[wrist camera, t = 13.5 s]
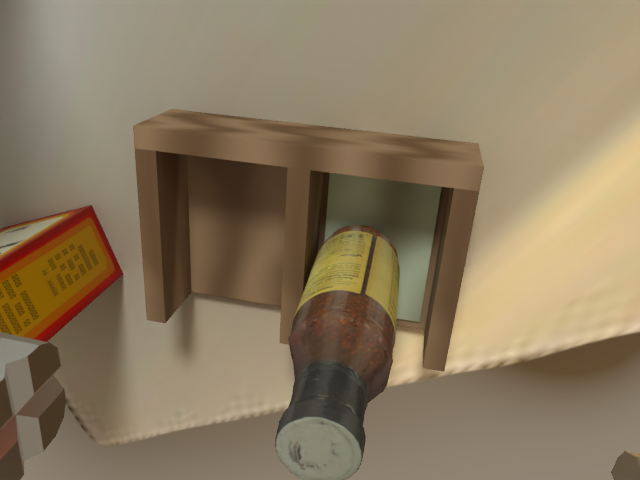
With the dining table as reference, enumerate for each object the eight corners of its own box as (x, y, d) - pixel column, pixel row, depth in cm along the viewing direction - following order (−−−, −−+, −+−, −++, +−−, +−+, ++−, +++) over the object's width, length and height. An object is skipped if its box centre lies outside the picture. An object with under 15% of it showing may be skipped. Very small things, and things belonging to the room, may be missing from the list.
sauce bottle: (307, 271, 44) (217, 460, 26) (341, 206, 42) (266, 367, 24) (382, 309, 44) (341, 523, 27) (420, 246, 42) (405, 437, 24)
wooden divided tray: (178, 284, 48) (146, 319, 43) (171, 109, 42) (133, 125, 37) (443, 327, 45) (443, 371, 40) (478, 143, 39) (483, 167, 34)
